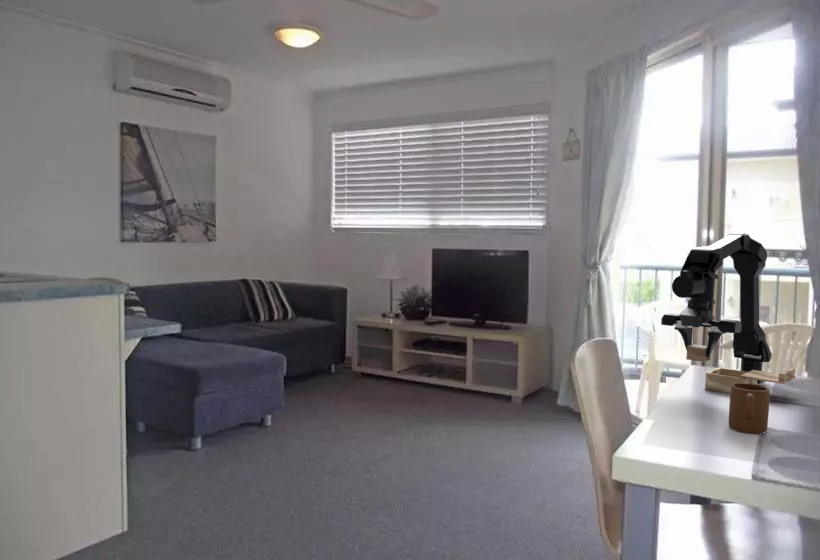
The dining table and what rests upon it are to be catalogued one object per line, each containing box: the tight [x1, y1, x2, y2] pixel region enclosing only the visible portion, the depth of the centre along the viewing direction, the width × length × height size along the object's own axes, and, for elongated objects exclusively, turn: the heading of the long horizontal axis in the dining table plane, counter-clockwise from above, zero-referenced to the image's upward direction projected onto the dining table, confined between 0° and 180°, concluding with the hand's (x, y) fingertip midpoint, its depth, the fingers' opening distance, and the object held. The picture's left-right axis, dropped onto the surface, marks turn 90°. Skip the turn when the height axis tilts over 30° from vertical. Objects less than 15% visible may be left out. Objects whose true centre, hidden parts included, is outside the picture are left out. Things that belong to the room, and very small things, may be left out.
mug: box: [728, 383, 771, 435], centre depth 144 cm, size 12×8×9 cm, turn 153°
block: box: [685, 343, 711, 363], centre depth 177 cm, size 4×4×4 cm
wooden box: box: [704, 367, 758, 394], centre depth 185 cm, size 11×10×4 cm
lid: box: [740, 367, 796, 385], centre depth 178 cm, size 11×10×2 cm
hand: (698, 355), depth 177 cm, fingers closed on block, 4 cm apart
